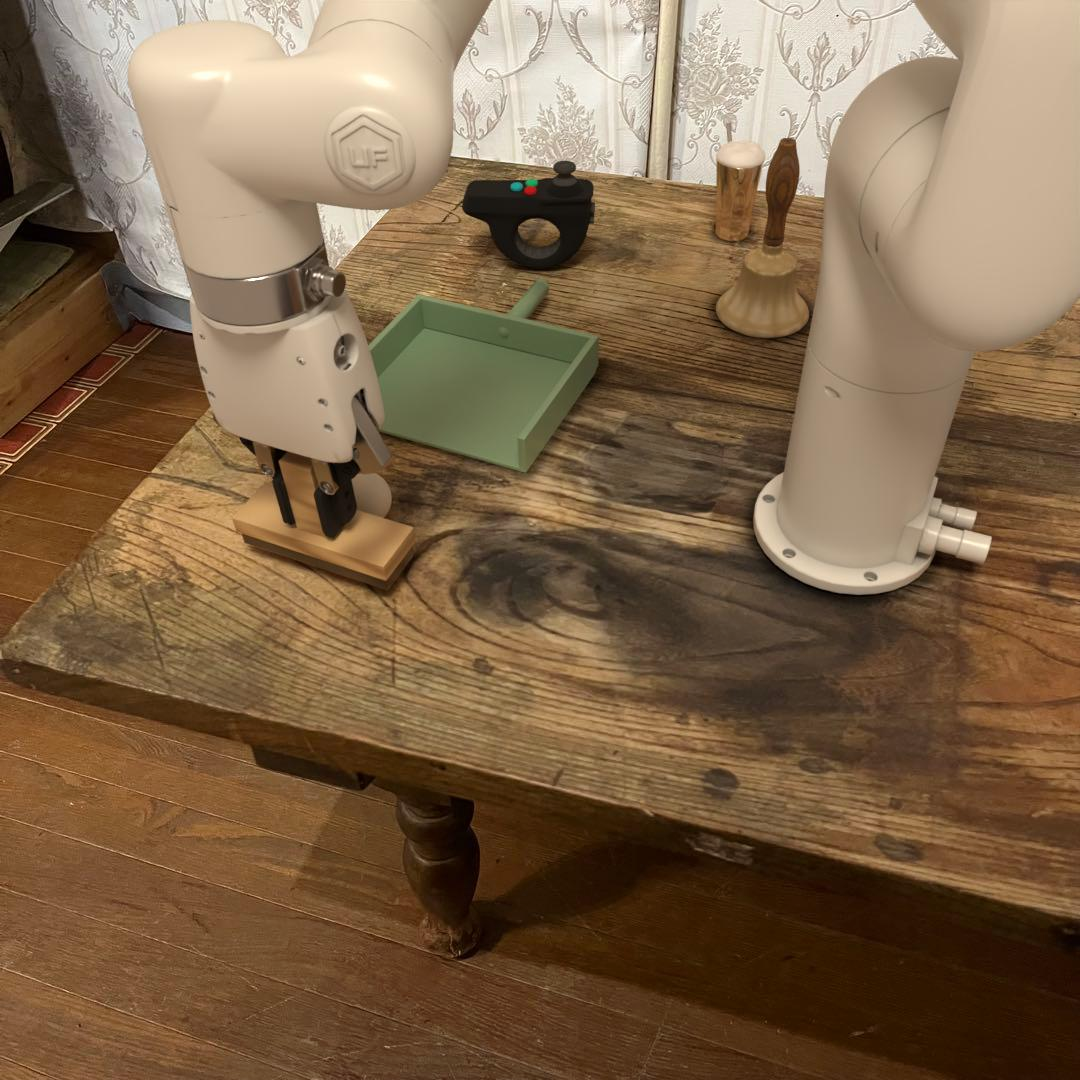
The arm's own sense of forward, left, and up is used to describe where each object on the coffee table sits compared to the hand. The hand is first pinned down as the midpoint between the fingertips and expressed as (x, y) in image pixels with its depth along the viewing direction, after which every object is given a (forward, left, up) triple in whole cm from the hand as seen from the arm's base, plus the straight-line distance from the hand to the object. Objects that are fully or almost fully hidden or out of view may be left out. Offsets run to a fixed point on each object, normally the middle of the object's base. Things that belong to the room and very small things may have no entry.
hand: (320, 515), depth 69 cm
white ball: (0, -5, -3) cm, 6 cm away
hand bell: (-19, -42, -5) cm, 46 cm away
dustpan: (0, -25, -5) cm, 26 cm away
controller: (+4, -42, -5) cm, 42 cm away
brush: (0, 0, -3) cm, 3 cm away
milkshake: (-12, -55, -5) cm, 56 cm away
